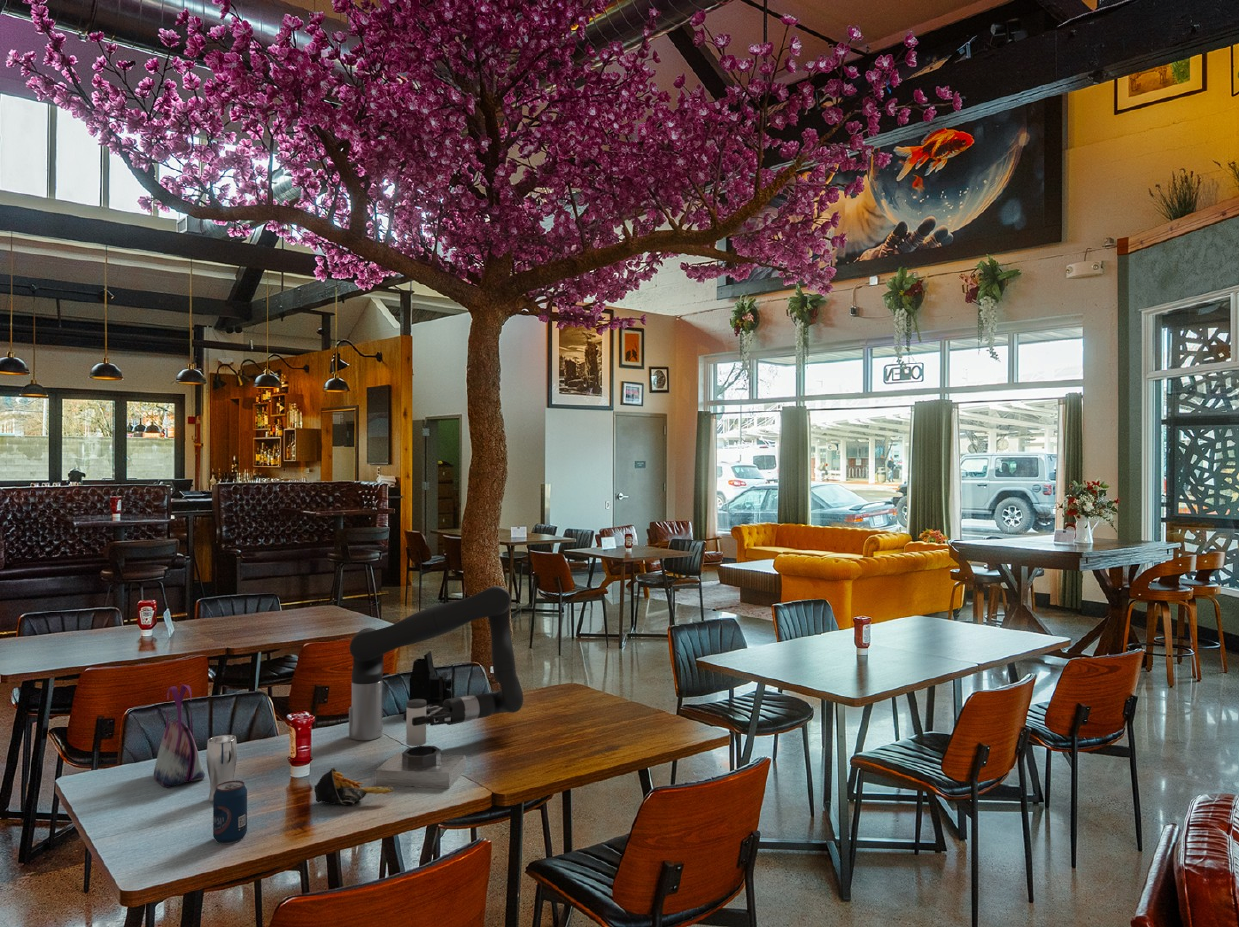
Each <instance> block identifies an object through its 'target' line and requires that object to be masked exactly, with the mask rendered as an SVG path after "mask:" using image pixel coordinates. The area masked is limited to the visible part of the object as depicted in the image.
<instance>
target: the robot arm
mask: <svg viewBox="0 0 1239 927" xmlns="http://www.w3.org/2000/svg"><path fill="white" fill-rule="evenodd" d="M511 604H512V597H511V594H510V592H509V590H507V588H505V587H503V586H499V585H492V586H489V587H487V588H486V589H484V590H482V591H480V592H478V593H476V594H474V595H473V594H472V595H471V596H469V597H466V598H462V599H459V600H454V601H449V602H446V603H441V604H438V605H435V606H432V607H428V608H426V609H423V610H419V611H417V612H414V613H413V614H410V615H409V616H407V617H405V618H403V619H402V620H399V621H398V622H395V623H393V624H392V625H388V626H386V627H381V628H377V629H376V628H373V627H366V628H361V629H360V630H359V631H357V633H355V635H354V636H353V638H352V639H351V641H350V643H349V652H350V655H351V657H353V660H352V661H353V662H352V671H351V706H350V707H349V708H348V738H349V739H352V740H356V741H369V740H375V739H378V738H379V739H380V738H381V737H382V736H383V672H384V654H385V655H386V654H387V653H389V652H391V651H393V650H396V649H399V648H402V647H406V646H410V645H413V644H418V643H420V642H423V641H424V642H425V641H427V640H431V639H434V638H437V637H439V636H442V635H445V634H447V633H450V632H452V631H454V630H456V629H458V628H460V627H462V626H464V625H466V624H469V623H470V622H473V621H476V620H479V619H483V618H488V619H487V620H488V623H489V628H490V629H489V630H490V636H491V640H490V641H491V660H492V661H491V662H492V663H491V664H492V669H493V678H494V680H495V682H497V683H498V684H499V686H500V689H499V690H495V691H491V692H488V693H481V694H475V695H463V696H458V697H453V698H452V697H451V699H446V700H445V701H444V702H443V704H442V706H441V707H439V706H433V707H432V705H426V716H420V717H414V718H412V725H413V726H417V725H422V724H426V726H428V725H429V726H431V727H432V726H439V725H448V726H452V725H457V724H462V723H467V722H471V721H474V720H477V719H482V718H487V717H490V716H492V715H497V714H502V713H503V714H504V713H507V714H513V713H517V712H518V711H520V710H521V709H522V708H523V704H524V694H523V690H522V687H521V684H520V680H519V677H518V676H517V668H516V659H515V654H514V648H513V642H512V635H511V626H510V614H511V613H510V612H511ZM406 713H407V711H406V712H403V714H402V715H403V716H402V719H403V721H405V722H406Z"/></svg>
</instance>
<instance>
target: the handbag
mask: <svg viewBox="0 0 1239 927" xmlns="http://www.w3.org/2000/svg"><path fill="white" fill-rule="evenodd" d="M187 690H188V692H189V697H190V700H192V689H191V686H190V685H186V684H181V686H180V691H179V690H178V687H177V686H175V685H174V686H170V687H169V688H167V692H166V693H167V694H166V696H167V699H169V696H170V691H171V694H172V698H173V701H174V704H175V707H176V710H177V720H172V721H170V722H169V709H167V712H166V727H165V728H164V732H163V735H162V738H161V740H160V741H161V742H160V746H159V748H158V752H157V756H156V761H155V766H154V769H153V770H154V771H153V779H154V780H155V781H156V782H158V784H160V785H161V784H162V785H161V786H162V787H165V788H169V787H173V786H177V785H180V784H183V783H187V782H194V781H200V780H203V779H205V778H206V775H205V774H206V773H205V770H204V768H203V764H202V762H201V757H200V755H199V754H200V753H199V751H198V747H197V745H196V741H195V739H194V728H193V726H194V724H193V714H192V713H193V712H192V709H190V728H189V727H188V725H187V724H186V723H185V722H184V721H182V704H183V699H184V698H185V695H186V691H187ZM178 691H179V692H178Z"/></svg>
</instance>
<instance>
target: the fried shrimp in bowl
mask: <svg viewBox="0 0 1239 927" xmlns="http://www.w3.org/2000/svg"><path fill="white" fill-rule="evenodd" d="M363 784H364V782H363V781H362V782H361V781H359V782H358V781H356V780H355V781H354V780H352V779H349V778H345V777H344V774H343V773H342V772H339V771H337V770H336V768H335V767H331V768H330V770H329V771H327V772H326V773H324V774H323V775H322V776H321V777H320V779H319V780H318V782H317V784H316V785H314V793H315V801H316V803H320V802H323V803H326V804H337V803H340V804H341V805H346V806H347V805H348V806H349V805H350V806H353V805H355V802H359V801H361V800H362V799H364V798H365V797H366V796H367V795H368V794H373V795H374V794H375V795H377V794H383V795H385V794H388V793H392V792H393V791H394V786H372V787H371V786H370V787H369V786H368V787H361V785H363Z"/></svg>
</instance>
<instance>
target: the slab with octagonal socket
mask: <svg viewBox="0 0 1239 927" xmlns="http://www.w3.org/2000/svg"><path fill="white" fill-rule="evenodd" d="M466 756H467V755H465V754H443V753H442V749H441V748H439V747H438V746H435V745H420V746H411V747H407V748H406V749H405V750H404V751H403V752H395V753H394V754H393V755H392V756H391V757H389V758H388V759H387V760H386V761H384V762H383V763H382V764H381V765H379V767H377V768H376V769H375V786H378V787H386V786H390V787H403V786H414V787H413V788H427V787H431V789H450V788H452V786H453V785H454V784H455V782H456V781H457V780H459V778H460V777H461V776H462V774H463V773H465V771H466V769H467V767H466V763H467V760H466V758H467V757H466ZM452 784H453V785H452Z"/></svg>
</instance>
